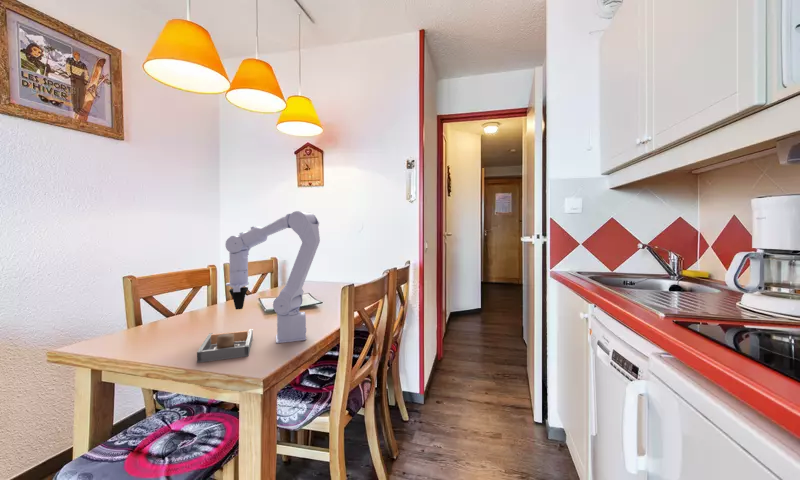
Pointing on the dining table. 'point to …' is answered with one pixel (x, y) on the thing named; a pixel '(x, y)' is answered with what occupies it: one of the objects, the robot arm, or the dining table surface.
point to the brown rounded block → (225, 341)
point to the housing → (224, 349)
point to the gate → (237, 336)
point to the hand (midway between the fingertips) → (239, 308)
